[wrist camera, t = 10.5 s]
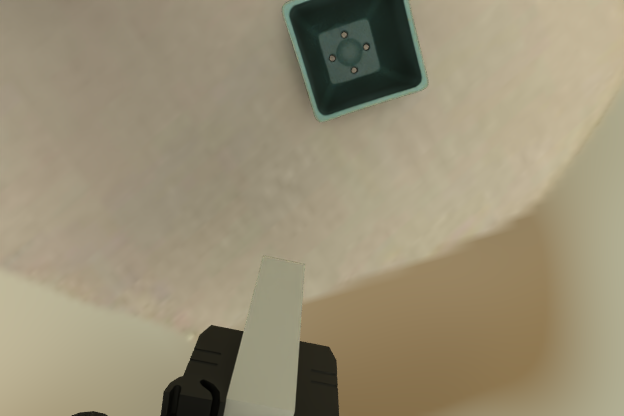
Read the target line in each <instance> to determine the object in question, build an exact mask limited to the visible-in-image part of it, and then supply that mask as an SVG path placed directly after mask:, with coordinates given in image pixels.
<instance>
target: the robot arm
mask: <svg viewBox="0 0 624 416" xmlns="http://www.w3.org/2000/svg"><path fill="white" fill-rule="evenodd" d="M304 270H305V264H302V263H297V262H292V261H287V260H282V259H277V258H272V257H268V256H263V259H262V263H261V267H260V271H259V275H258V278H257V282H256V286H255V290H254V294H253V298H252V301H251V305H250V309H249V313H248V317H247V321H246V325H245V328H244V331H239V330H234V329H229V328H223V327H218V326H213V325H211V326H210V327H209V328H207V329H206V330H205V331H204V332H203V333H202V334H200V336H199V338H198V341H197V343H196V346H195V348H194V351H193V353H192V356H191V358H190V361H189V363H188V365H187V368H186V370H185V373H184V375H183V376H182V377H179V378H177V379H176V380H174V381H172V382H171V383H170V384H169V385H168V387H167V388H166V389H165V391H164V395H163V403H162V410H161V416H339V405H338V388H337V385H338V384H337V365H336V359H335V357H334V355H333V353H332V352H331V350H330V348H329V347H327V346H322V345H317V344H312V343H306V342H301V341H300V328H301V314H302V299H303V284H304ZM72 416H107V415H106V414H103V413H98V412H94V411H92V412H82V413H77V414H75V415H72Z"/></svg>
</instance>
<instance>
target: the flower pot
mask: <svg viewBox="0 0 624 416" xmlns="http://www.w3.org/2000/svg"><path fill="white" fill-rule="evenodd" d="M282 14H283V17H284V20H285V23H286V26H287V29H288V32H289V35H290V38H291V41H292V44H293V47H294V51H295V53H296V57H297V60H298V63H299V66H300V69H301V73H302V76H303V79H304V83H305V86H306V89H307V92H308V96H309V99H310V102H311V106H312V109H313V113H314V116H315V118H316V120H317V121H319V122H325V121H329V120H331V119H334V118H337V117H340V116H343V115H346V114H349V113H352V112H355V111H358V110H361V109H364V108H367V107H370V106H373V105H376V104H379V103H382V102H386V101H389V100H392V99H395V98H398V97H402V96H405V95H409V94H412V93H416V92H419V91H421V90H424V89H425V88H426V87H427V86H428V77H427V72H426V69H425V65H424V61H423V57H422V53H421V50H420V45H419V41H418V37H417V33H416V28H415V25H414V20H413V16H412V12H411V7H410V3H409V0H291V1H288V2H286V3H285V4H284V5H283V7H282ZM343 32H346V33H347V37H345V38H343V37H342V36H341V34H342V33H343ZM365 44H368V45H369V49H368V50H365V49H364V45H365ZM331 55H333V56H335V60H334V61H330V59H329V58H330V56H331ZM353 67H355V68H357V72H356V73H352V71H351V70H352V68H353Z"/></svg>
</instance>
